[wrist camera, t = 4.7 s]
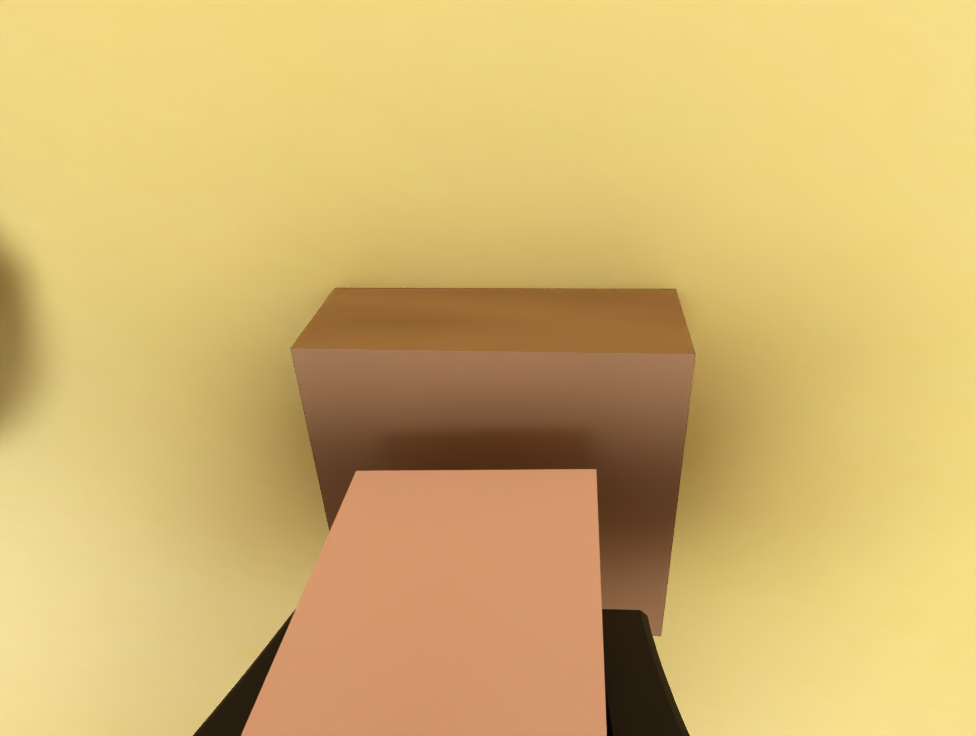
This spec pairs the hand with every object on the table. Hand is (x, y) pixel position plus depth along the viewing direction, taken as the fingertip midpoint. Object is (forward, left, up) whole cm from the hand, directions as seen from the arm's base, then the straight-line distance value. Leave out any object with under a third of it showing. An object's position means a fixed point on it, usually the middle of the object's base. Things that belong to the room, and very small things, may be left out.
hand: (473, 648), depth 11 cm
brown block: (0, 0, -6) cm, 6 cm away
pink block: (0, 0, -2) cm, 2 cm away
